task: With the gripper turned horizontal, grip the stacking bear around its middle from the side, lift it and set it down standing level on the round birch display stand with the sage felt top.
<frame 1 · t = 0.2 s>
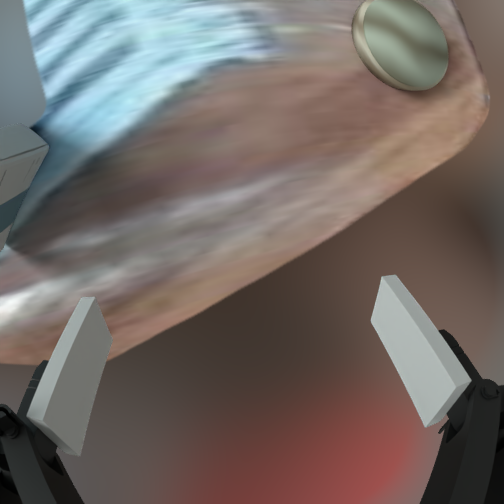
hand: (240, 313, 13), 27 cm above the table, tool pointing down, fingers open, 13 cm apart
display stand: (399, 41, 30), on the table
stereo radio cassette player: (12, 186, 34), on the table
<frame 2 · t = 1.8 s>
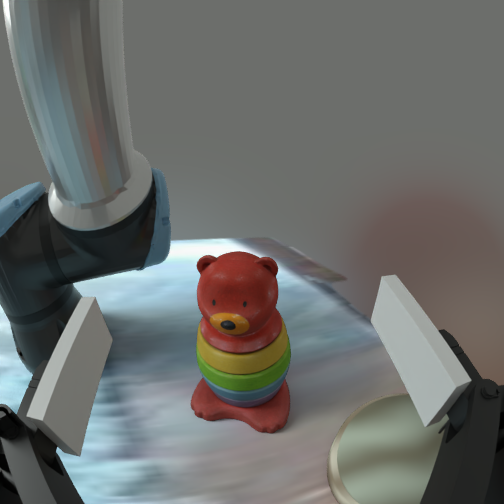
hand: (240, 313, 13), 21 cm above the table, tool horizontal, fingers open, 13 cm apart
display stand: (397, 462, 22), on the table
stacking bear: (245, 392, 32), on the table
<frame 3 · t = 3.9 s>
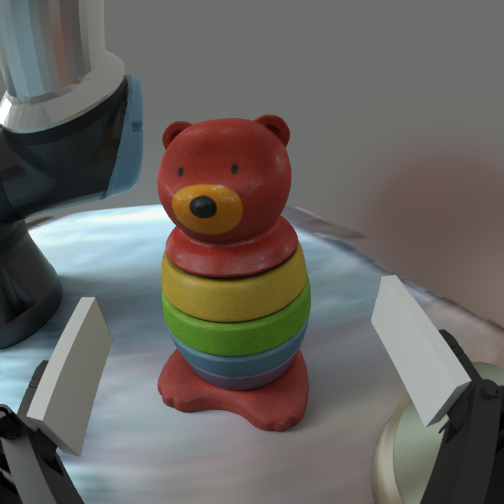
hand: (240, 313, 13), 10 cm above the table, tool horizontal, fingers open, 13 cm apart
display stand: (468, 462, 12), on the table
stacking bear: (240, 371, 22), on the table
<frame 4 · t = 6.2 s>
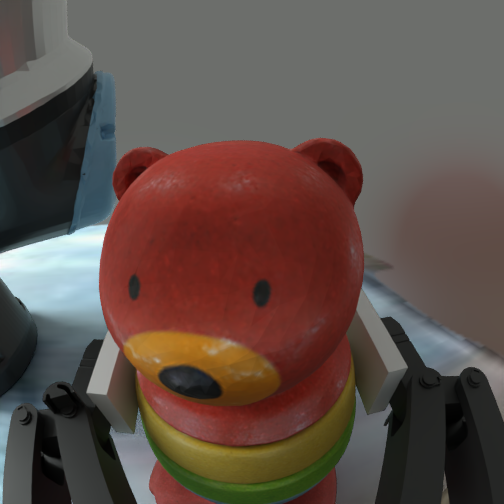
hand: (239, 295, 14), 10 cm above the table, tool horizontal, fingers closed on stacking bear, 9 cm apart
stacking bear: (251, 464, 15), on the table, touching gripper
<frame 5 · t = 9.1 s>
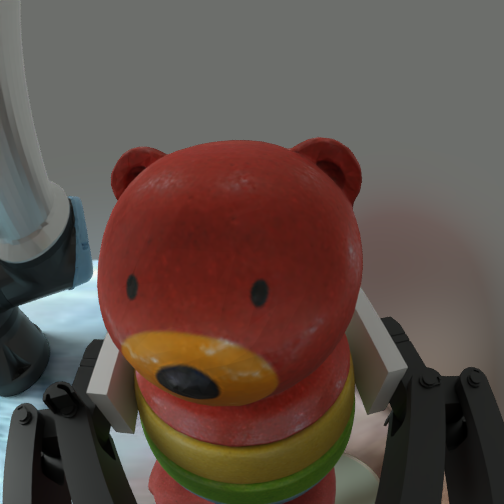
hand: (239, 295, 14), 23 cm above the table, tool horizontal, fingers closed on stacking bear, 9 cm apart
stacking bear: (250, 464, 15), point 13 cm above the table, touching gripper
when the fingers open (14 cm above the table, at t = 11.8 s): stacking bear drops 1 cm, resting on display stand.
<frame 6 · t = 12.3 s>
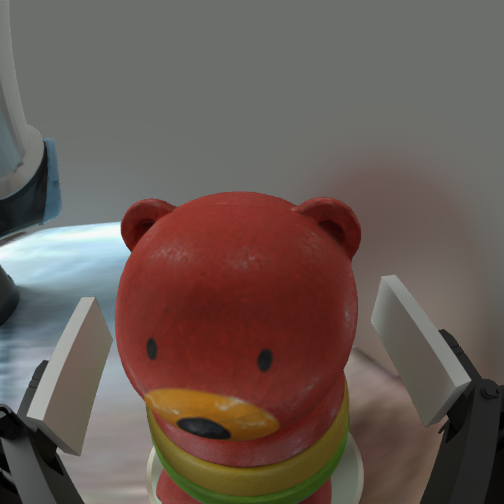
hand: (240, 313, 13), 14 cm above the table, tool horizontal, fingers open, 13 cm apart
display stand: (255, 481, 17), on the table
stacking bear: (251, 471, 16), point 3 cm above the table, touching display stand
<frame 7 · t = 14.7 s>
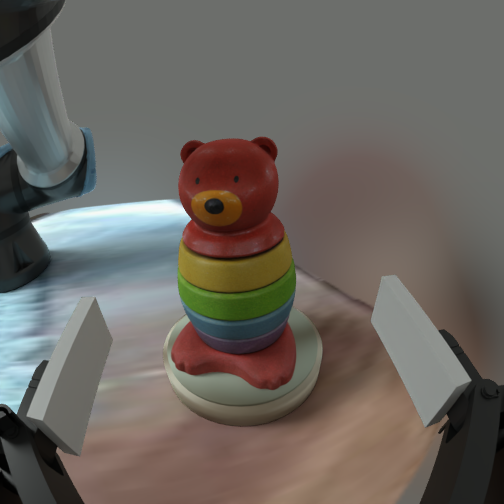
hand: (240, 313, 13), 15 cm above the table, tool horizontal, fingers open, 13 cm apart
display stand: (243, 361, 28), on the table
stacking bear: (240, 343, 27), point 3 cm above the table, touching display stand
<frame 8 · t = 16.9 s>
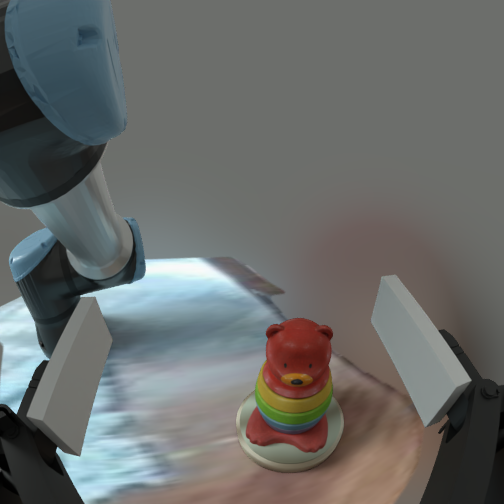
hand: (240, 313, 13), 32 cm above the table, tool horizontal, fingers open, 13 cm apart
display stand: (289, 428, 38), on the table
stacking bear: (289, 420, 36), point 3 cm above the table, touching display stand
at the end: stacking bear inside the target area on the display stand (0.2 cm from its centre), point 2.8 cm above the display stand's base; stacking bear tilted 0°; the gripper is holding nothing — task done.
